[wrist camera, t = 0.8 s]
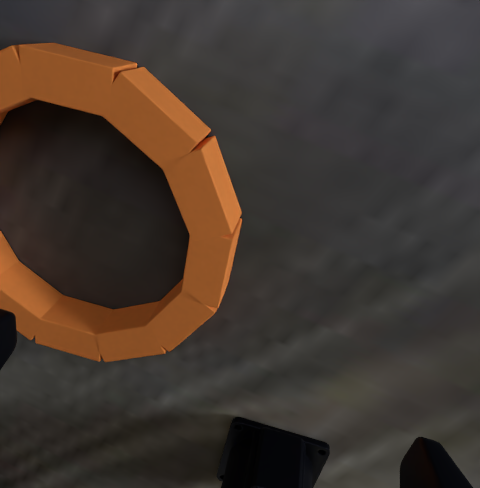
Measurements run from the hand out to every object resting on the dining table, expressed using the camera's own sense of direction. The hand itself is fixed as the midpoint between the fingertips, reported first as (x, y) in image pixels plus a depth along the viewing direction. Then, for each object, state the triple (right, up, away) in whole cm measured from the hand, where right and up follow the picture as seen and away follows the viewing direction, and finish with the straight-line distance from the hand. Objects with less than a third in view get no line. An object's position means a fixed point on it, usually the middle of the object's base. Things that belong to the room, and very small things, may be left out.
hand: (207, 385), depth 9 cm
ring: (-7, +5, +13) cm, 16 cm away
